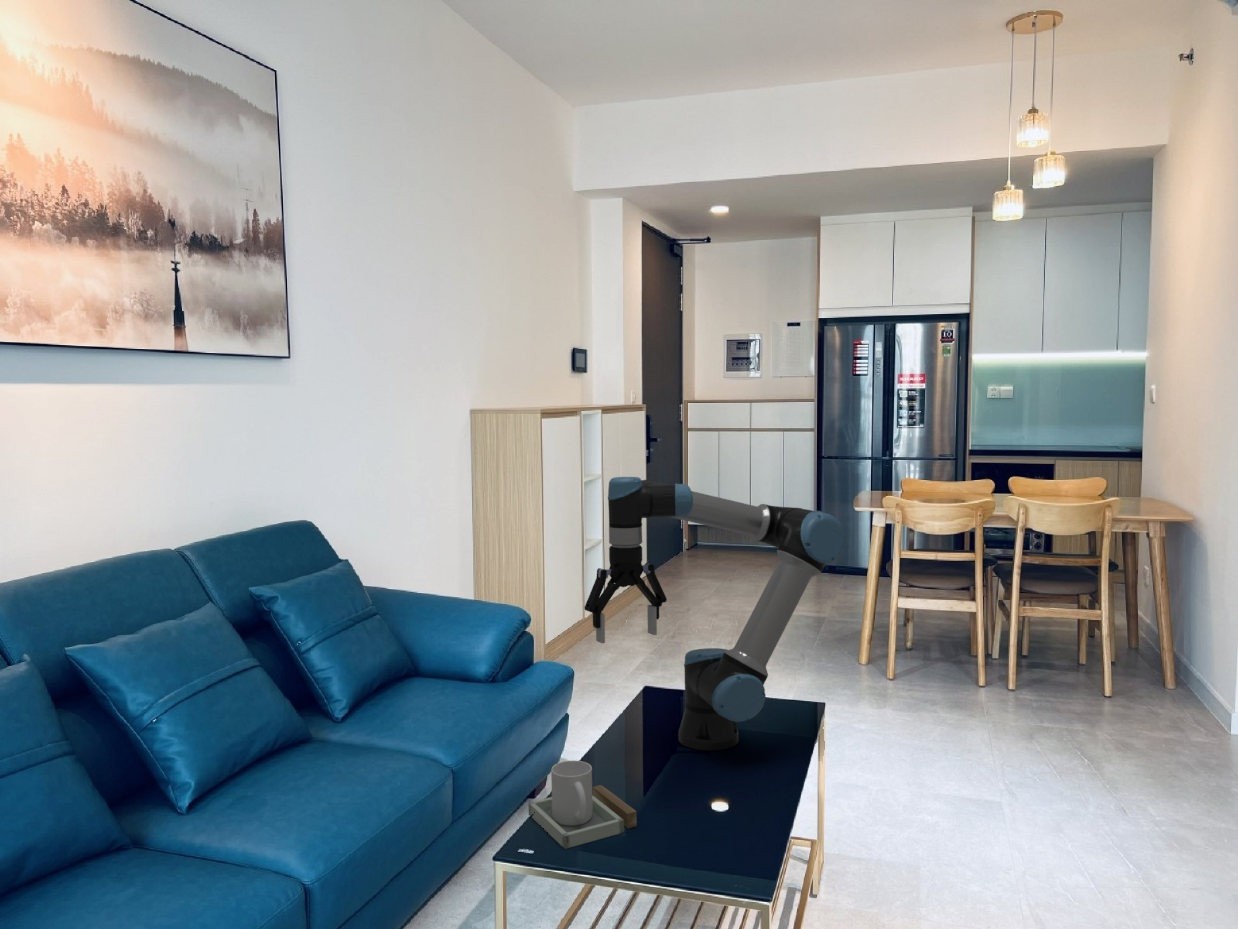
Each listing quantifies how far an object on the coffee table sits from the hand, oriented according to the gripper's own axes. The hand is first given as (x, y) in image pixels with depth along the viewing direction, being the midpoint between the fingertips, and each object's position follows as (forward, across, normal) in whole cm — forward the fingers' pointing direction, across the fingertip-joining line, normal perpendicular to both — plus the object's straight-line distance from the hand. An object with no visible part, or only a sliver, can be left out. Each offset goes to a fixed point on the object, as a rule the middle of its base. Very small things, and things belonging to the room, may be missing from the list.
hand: (626, 638), depth 200 cm
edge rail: (+32, +12, +16) cm, 37 cm away
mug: (+32, +22, +15) cm, 41 cm away
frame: (+32, +22, +16) cm, 41 cm away
